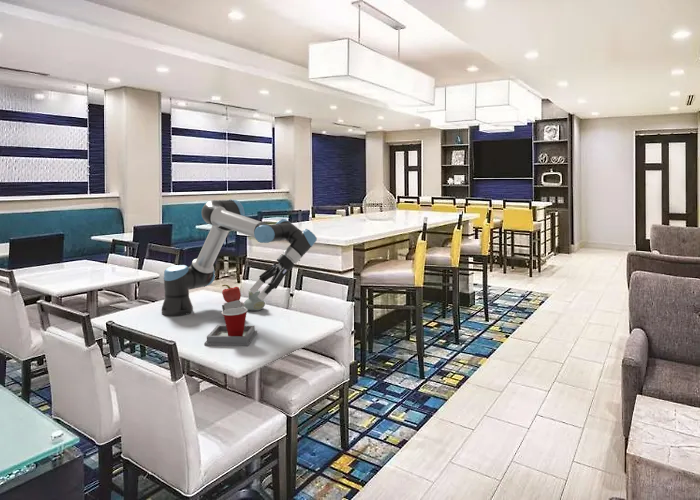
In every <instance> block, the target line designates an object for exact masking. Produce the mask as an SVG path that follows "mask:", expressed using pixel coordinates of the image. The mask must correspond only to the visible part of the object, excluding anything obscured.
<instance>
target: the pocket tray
mask: <svg viewBox="0 0 700 500" xmlns="http://www.w3.org/2000/svg"><path fill="white" fill-rule="evenodd" d="M255 327H256V326H255V325H245V326H244V331H243V336H228V332H227V328H226V324H223V325H222V324H217V325H216V326H215V327H214V329H212V330H211V332H209V334H208V335H207V336H206V341H205V342H204V344H203V345H204V346H213V347H214V346H220V347H221V346H224V347H226V346H227V347H249V346H250V344H251V342H252V341H254V338H255V336H256V335H257V333H258V331H257V330H256V328H255Z"/></svg>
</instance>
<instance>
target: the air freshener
mask: <svg viewBox="0 0 700 500" xmlns="http://www.w3.org/2000/svg"><path fill="white" fill-rule="evenodd" d="M260 293H261V291H260V289H258V290H257V291H256V292H255V294H253V293H252V292H251V291H250V290H248V298H247V299H245V300H244V303H243V308H247V310H248V311H251V312H259V311H261V310H262V309H264V307H265V306H266V302H265V301H264V300H265V299H263V300H261V299H259V298H258V297H257V296H258V295H259V294H260Z"/></svg>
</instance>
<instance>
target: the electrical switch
mask: <svg viewBox="0 0 700 500" xmlns="http://www.w3.org/2000/svg"><path fill="white" fill-rule="evenodd" d="M231 308H243V307H242V304H241V300H237V301H232V302H228V303H227V302H224V303H223V305H221V309H222V311H224V310H227V309H231Z"/></svg>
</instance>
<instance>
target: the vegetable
mask: <svg viewBox="0 0 700 500" xmlns="http://www.w3.org/2000/svg"><path fill="white" fill-rule="evenodd" d="M221 287H226V288H224V289H223V290H222V291H221V293H222V297H223V300H224V301H225V303H228V302H232V301H237V300H240V299H241V297H242V296H241V295H242V294H241V288H240V287H238V286H234V287H230V285H228V284H222V285H221ZM240 301H241V300H240Z"/></svg>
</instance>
